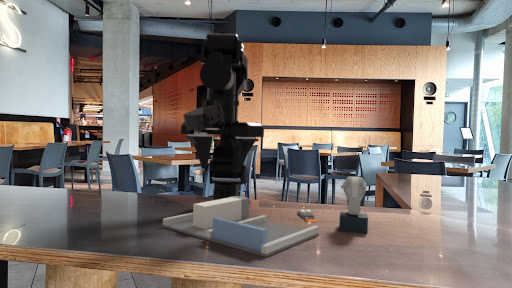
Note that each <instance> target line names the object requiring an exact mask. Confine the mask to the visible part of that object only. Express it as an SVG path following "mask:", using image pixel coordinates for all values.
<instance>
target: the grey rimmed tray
mask: <svg viewBox="0 0 512 288" xmlns="http://www.w3.org/2000/svg"><path fill="white" fill-rule="evenodd" d="M162 228H165V229H169V230H172V231H175V232H179V233H182V234H186V235H189V236H193V237H196V238H199V239H203V240H206V241H210V242H213V243H217V244H219V245H224V246H227V247H230V248H233V249H237V250H240V251H244V252H247V253H250V254H254V255H256V256H257V255H258V256H261V257H264V258H268V257H270V256H272V255H275V254H277V253H280V252H282V251H285V250H287V249H290V248H291V247H294V246H297V245H299V244H302V243H304V242H306V241H309V240H311V239H313V238H315V237H318V236H320V235H319V234H320V226H318V225H313V226H310V227H307V228H305V229H303V228H298V227H295V226H291V225H286V224H281V223H276V222H272V221H268V215H264V214H262V215H260V216H256V217H249V218H247V219H243V220H242V219H241V220H238V221H230V220H226V219H222V218H217V217H216V218H213V227H211V228H207V229H203V228H199V227H195V226H193V212H189V213H183V214H179V215H174V216H169V217H164V218H163V219H162ZM308 239H309V240H308Z"/></svg>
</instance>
